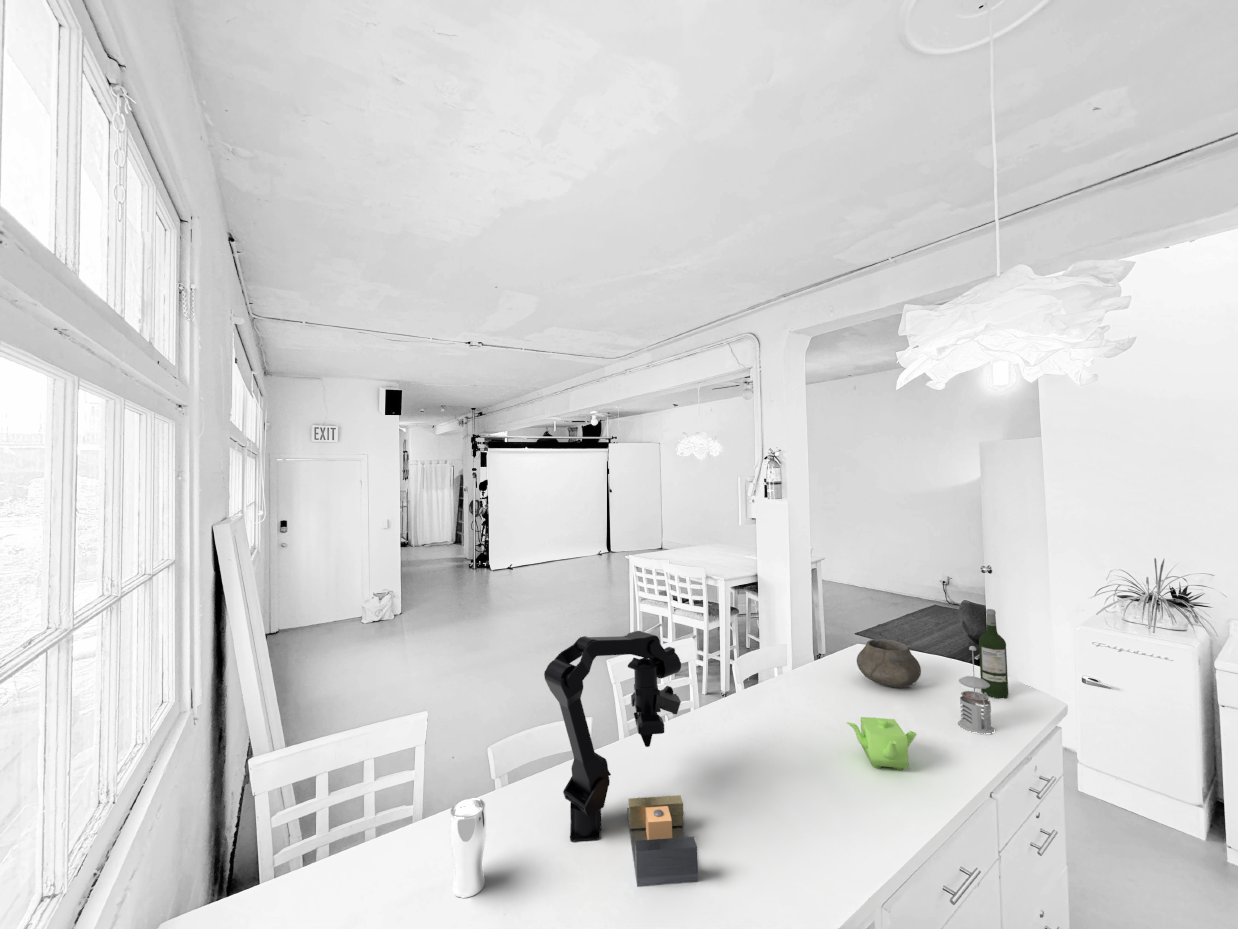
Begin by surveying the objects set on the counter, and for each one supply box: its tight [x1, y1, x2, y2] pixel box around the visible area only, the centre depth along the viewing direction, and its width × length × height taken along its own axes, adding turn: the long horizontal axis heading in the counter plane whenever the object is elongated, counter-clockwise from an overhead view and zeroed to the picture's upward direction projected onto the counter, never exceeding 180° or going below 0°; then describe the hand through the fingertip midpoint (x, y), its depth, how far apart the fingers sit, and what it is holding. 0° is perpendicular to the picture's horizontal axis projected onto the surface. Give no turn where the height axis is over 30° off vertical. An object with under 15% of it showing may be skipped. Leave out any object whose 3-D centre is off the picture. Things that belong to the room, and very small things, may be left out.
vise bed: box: [626, 807, 699, 887], centre depth 112 cm, size 12×22×7 cm, turn 4°
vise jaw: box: [627, 794, 685, 829], centre depth 116 cm, size 12×3×5 cm, turn 94°
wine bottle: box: [978, 608, 1009, 699], centre depth 185 cm, size 8×8×30 cm
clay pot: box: [856, 638, 922, 688], centre depth 197 cm, size 22×21×15 cm
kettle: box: [846, 716, 917, 771], centre depth 143 cm, size 15×14×11 cm
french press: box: [957, 645, 995, 735], centre depth 161 cm, size 10×12×25 cm
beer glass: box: [449, 797, 487, 899], centre depth 101 cm, size 7×7×15 cm
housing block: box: [646, 806, 672, 840], centre depth 112 cm, size 5×5×5 cm
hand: (647, 746), depth 130 cm, fingers closed
